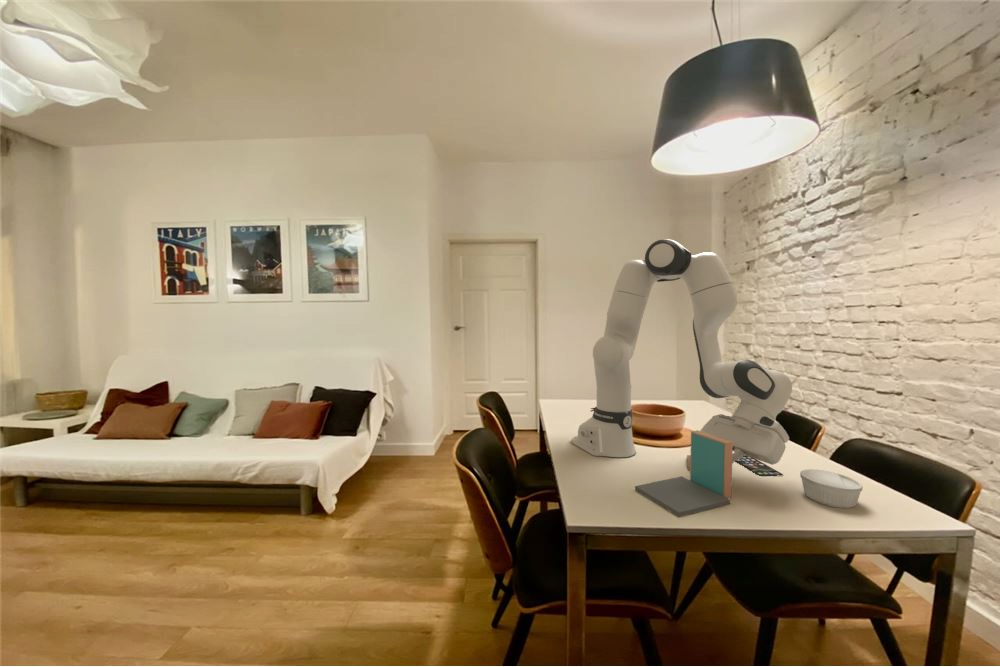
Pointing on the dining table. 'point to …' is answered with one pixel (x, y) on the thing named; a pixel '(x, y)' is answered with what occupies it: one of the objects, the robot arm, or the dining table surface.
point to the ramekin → (830, 488)
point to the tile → (711, 462)
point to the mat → (682, 496)
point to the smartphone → (757, 466)
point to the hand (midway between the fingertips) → (724, 462)
